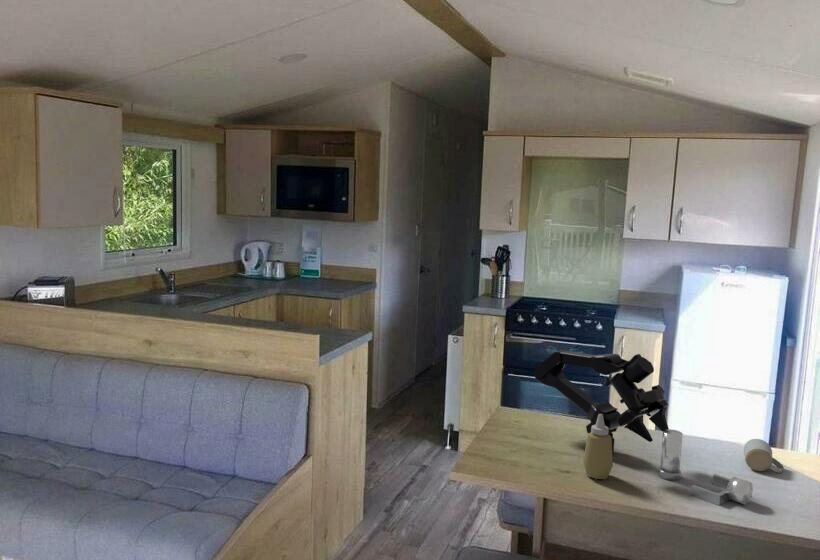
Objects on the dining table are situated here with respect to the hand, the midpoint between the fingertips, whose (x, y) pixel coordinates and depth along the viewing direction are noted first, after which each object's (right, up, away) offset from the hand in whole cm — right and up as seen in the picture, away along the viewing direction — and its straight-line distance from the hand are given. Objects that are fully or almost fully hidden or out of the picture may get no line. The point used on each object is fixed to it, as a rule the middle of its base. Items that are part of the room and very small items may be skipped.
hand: (660, 437), depth 194 cm
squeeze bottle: (-19, -10, -2) cm, 22 cm away
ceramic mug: (+33, -11, +6) cm, 35 cm away
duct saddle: (+12, -12, -13) cm, 22 cm away
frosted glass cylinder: (+2, -11, -1) cm, 11 cm away
